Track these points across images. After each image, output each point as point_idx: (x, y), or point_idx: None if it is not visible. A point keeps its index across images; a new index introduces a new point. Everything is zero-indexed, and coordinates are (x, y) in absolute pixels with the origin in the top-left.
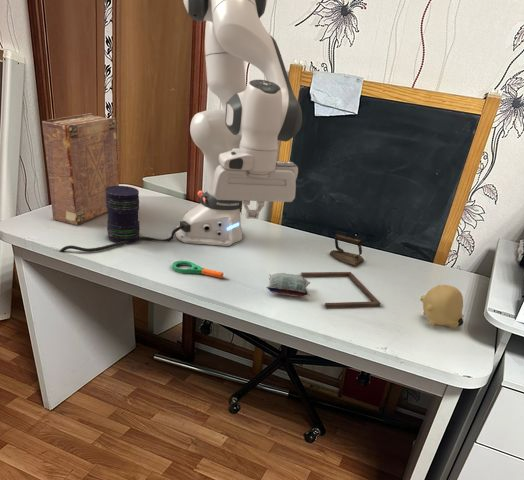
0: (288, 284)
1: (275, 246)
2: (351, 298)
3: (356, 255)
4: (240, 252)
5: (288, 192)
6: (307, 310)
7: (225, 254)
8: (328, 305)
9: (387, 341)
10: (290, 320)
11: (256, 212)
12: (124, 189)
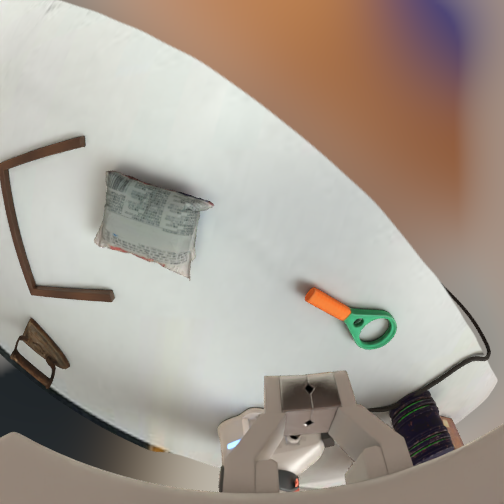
0: (149, 194)
1: (160, 402)
2: (33, 191)
3: (27, 342)
4: (232, 390)
5: (7, 496)
6: (127, 119)
7: None
8: (76, 137)
9: (34, 32)
10: (184, 66)
11: (285, 409)
12: None
